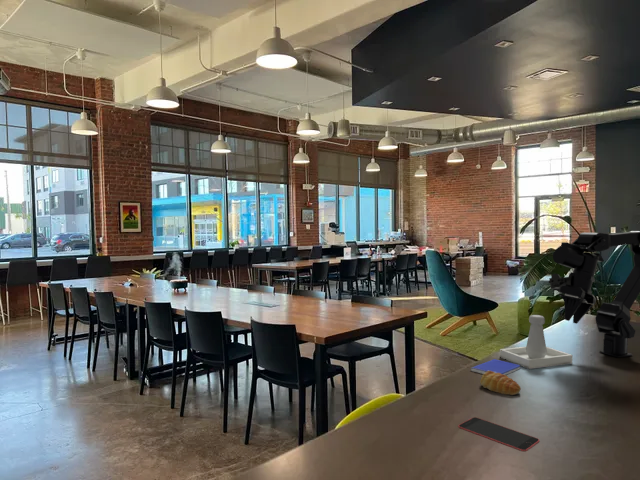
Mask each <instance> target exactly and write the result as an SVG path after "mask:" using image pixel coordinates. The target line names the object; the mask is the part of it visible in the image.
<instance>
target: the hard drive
mask: <svg viewBox="0 0 640 480" xmlns="http://www.w3.org/2000/svg"><path fill="white" fill-rule="evenodd" d="M520 369H521V366H520V365H518V364H515V363H513V362H510V361H504V360H499V359H495V358H494V359H491V360H488V361H486V362H483V363H480V364H477V365H475V366H472V367H470V371H471V372H473V373H474V372H475V373H479V374H482V375H483V374H484V373H485V372H487V371H493V372H494V373H501V374H504V375H506V376H507V375H509V374H511V373H513V372H515V371H518V370H520Z"/></svg>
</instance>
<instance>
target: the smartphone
mask: <svg viewBox="0 0 640 480" xmlns="http://www.w3.org/2000/svg"><path fill="white" fill-rule="evenodd" d="M457 427H458V428H459V429H462V430H464V431H468V432H469V433H472V434H474V435H477V436H480V437H482V438H486V439H488V440H490V441H493V442H497V443H498V444H502V445H505V446H507V447H510V448H512V447H513V448H512V449H516V450H517V449H518V451H520V450H521V452H527V451H529V450H531V449H532V448H533V447H535V446H536V445H538V444H539V443H540V439H539V438H538V437H535V436H533V435H529V434H526V433H523V432H520V431H517V430H514V429H511V428H508V427H506V426H503V425H500V424H497V423H494V422H491V421H489V420H485V419H482V418H479V417H471V418H469V419H467V420H465V421H464V422H461V423H460V424H458V426H457ZM528 449H529V450H528Z"/></svg>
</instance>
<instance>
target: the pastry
mask: <svg viewBox="0 0 640 480" xmlns="http://www.w3.org/2000/svg"><path fill="white" fill-rule="evenodd" d="M479 383H480V384H481V386H482V387H483V388H484V389H488V390H489V391H491V392H494V393H495V392H496V393H497V394H502V395H511V396H513V395H518V394H520V391H521V389H522V388H521V386H520V385H519V383H518V382H517V381H516V380H514V379H513V378H510V377H508V376H507V375H504V374H501V373H494V372H493V371H487V372H485V373H484V374H482V376H481V378H480V382H479Z"/></svg>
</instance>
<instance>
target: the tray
mask: <svg viewBox="0 0 640 480" xmlns="http://www.w3.org/2000/svg"><path fill="white" fill-rule="evenodd" d="M546 349H547V354H546V356H545V357H544V358H535V359H530V358H529V357H528V354H527V352H526V346H520V347H519V346H518V347H508V348H500V349H499V358H500V357H501V358H500V359H503V360H505V359H506V360H505V361H507V362H509V363H513V364H517V365H520V367H523V368H525V369H528V370H531V369H539V368H546V367H556V366H563V365H571V364H573V354H570V353H568V352H564V351H562V350H558V349H555V348H552V347H549V346H546ZM501 350H502V351H501Z"/></svg>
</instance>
